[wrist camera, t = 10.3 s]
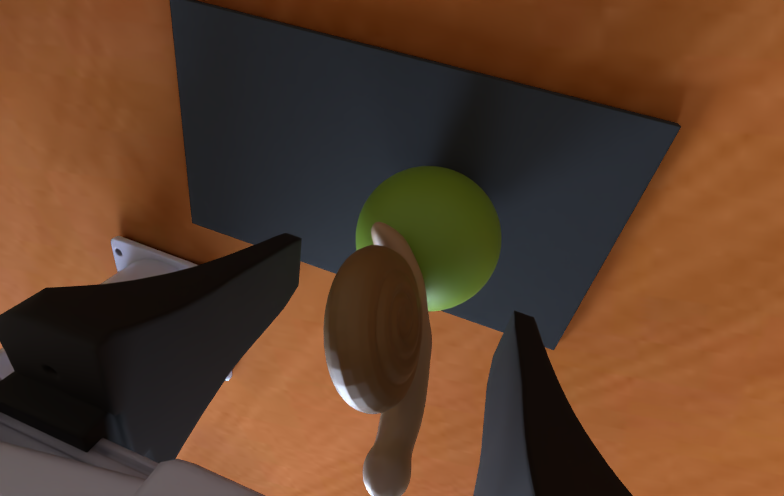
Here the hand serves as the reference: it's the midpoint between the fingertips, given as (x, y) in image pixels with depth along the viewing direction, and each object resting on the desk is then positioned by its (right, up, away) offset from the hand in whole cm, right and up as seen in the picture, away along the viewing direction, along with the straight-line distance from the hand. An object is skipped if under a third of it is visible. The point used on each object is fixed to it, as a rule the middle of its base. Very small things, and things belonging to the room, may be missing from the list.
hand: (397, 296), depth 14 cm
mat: (-1, +5, +5) cm, 7 cm away
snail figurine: (+2, +3, +5) cm, 6 cm away
